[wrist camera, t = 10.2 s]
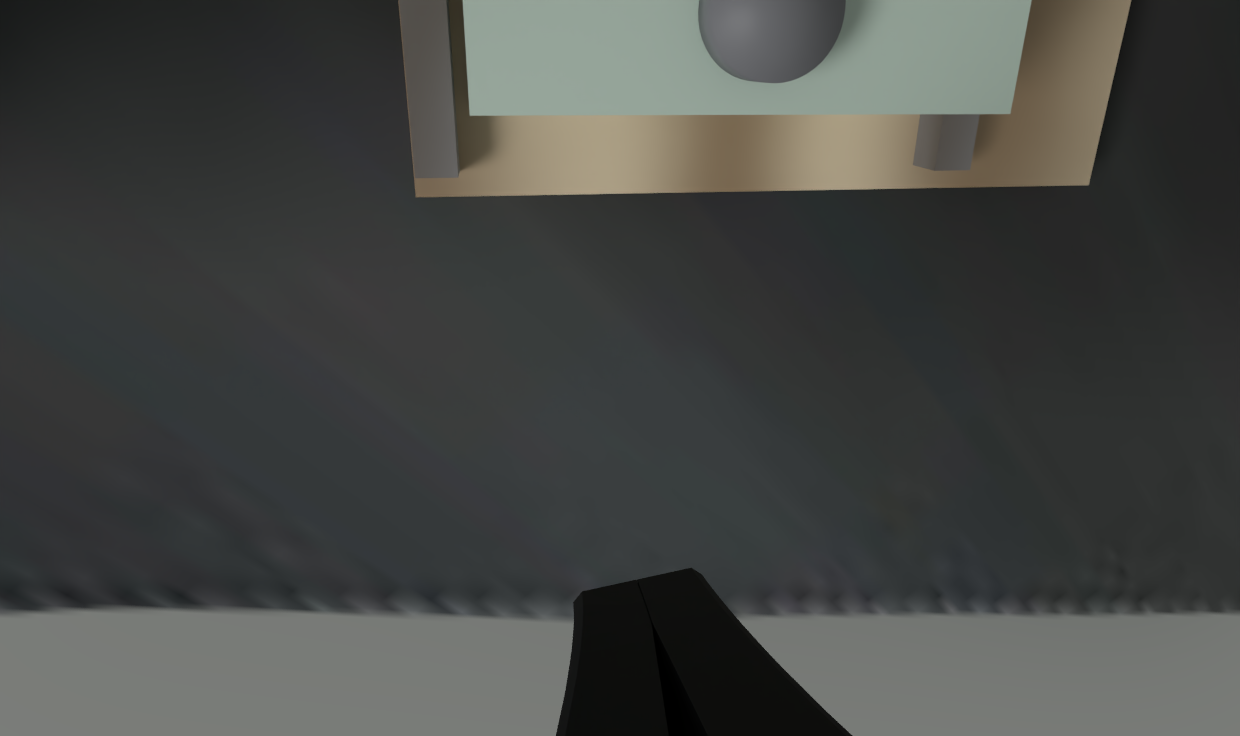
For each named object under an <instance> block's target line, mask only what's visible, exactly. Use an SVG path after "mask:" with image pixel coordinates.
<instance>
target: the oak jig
mask: <svg viewBox="0 0 1240 736" xmlns="http://www.w3.org/2000/svg"><path fill="white" fill-rule="evenodd" d="M398 3H399V14H400V25H401V36H402V47H403V58H404V70H405V81H406V92H407V103H408V114H409V125H410V136H411V148H412V159H413V170H414V181H415V192H416V197H458V196H514V195H569V194H625V193H680V192H736V191H791V190H847V189H902V188H958V187H1013V186H1069V185H1089V181H1090V177H1091V173H1092V168H1093V164H1094V160H1095V155H1096V151H1097V147H1098V142H1099V138H1100V134H1101V129H1102V125H1103V121H1104V116H1105V112H1106V108H1107V103H1108V99H1109V95H1110V90H1111V86H1112V82H1113V77H1114V73H1115V69H1116V64H1117V60H1118V56H1119V51H1120V47H1121V43H1122V38H1123V34H1124V30H1125V25H1126V21H1127V17H1128V12H1129V8H1130V4H1131V0H1032V1H1031V6H1030V12H1029V17H1028V22H1027V28H1026V33H1025V38H1024V44H1023V49H1022V54H1021V60H1020V65H1019V70H1018V76H1017V81H1016V86H1015V92H1014V97H1013V102H1012V108H1011V113H1010V114H868V115H522V116H470V112H469V96H468V80H467V63H466V47H465V31H464V15H463V0H398Z"/></svg>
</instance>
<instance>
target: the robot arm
mask: <svg viewBox="0 0 1240 736" xmlns="http://www.w3.org/2000/svg"><path fill="white" fill-rule="evenodd" d="M637 581H638V583H637ZM573 603H574V630H573V643H572V652H571V660H570V666H569V672H568V678H567V685H566V691H565V697H564V701H563V705H562V710H561V715H560V719H559V725H558V729H557V733H556V736H852V735H851V734H850V733H849V732H848V731H847V730H846V729H844V728H843V727H842V726H841V725H840V724H839V723H838V722H837V721H836V720H835V719H834V718H833V717H832V716H831V715H830V714H828V713H827V712H826V711H825V710H824V709H823V708H822V707H821V706H820V705H819V704H818V703H817V702H816V701H815V700H814V699H813V698H812V697H811V696H810V695H809V694H808V693H807V692H806V691H805V690H804V689H803V688H802V687H801V686H800V685H799V684H798V683H797V682H796V681H795V680H794V679H793V678H792V677H791V676H790V675H789V674H788V673H787V672H786V671H785V670H784V669H783V668H782V667H781V666H780V665H779V664H778V663H777V662H776V661H775V660H774V659H773V658H772V656H770V655H769V653H768V652H767V651H766V650H765V649H764V648H763V647H762V646H761V645H760V644H759V643H758V642H757V640H756V639H755V638H754V637H753V636H752V635H751V634H750V633H749V631H748V630H747V629H746V628H745V627H744V626H743V625H742V624H741V623H740V621H739V620H738V619H737V618H736V617H735V616H734V614H733V613H732V612H731V611H730V610H729V609H728V607H727V606H726V605H725V604H724V603H723V601H722V600H721V599H720V598H719V596H718V595H717V594H716V593H715V591H714V590H713V589H712V588H711V586H710V585H709V584H708V582H707V581H706V580H705V578H704V577H703V575H702V574H700V573H699V572H697V571H695V570H694V569H692V568H688V569H684V570H679V571H674V572H670V573H665V574H661V575H656V576H651V577H647V578H642V579H638V580H633V581H628V582H624V583H619V584H615V585H610V586H605V587H601V588H596V589H592V590H587V591H582V592H581V594H580V595H579V596H578V597H577V599H576V600H575V601H574V602H573Z"/></svg>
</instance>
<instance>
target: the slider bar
mask: <svg viewBox="0 0 1240 736" xmlns="http://www.w3.org/2000/svg"><path fill="white" fill-rule="evenodd" d="M1031 1H1032V0H463V15H464V31H465V47H466V63H467V80H468V96H469V112H470V116H522V115H868V114H1010V113H1011V108H1012V102H1013V97H1014V92H1015V86H1016V81H1017V76H1018V70H1019V65H1020V60H1021V54H1022V49H1023V44H1024V38H1025V33H1026V28H1027V22H1028V17H1029V12H1030V6H1031Z"/></svg>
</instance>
